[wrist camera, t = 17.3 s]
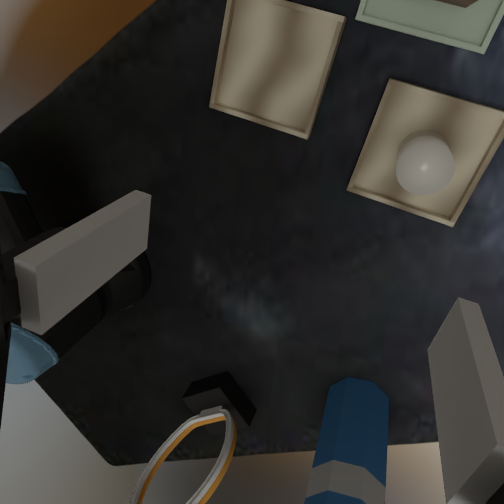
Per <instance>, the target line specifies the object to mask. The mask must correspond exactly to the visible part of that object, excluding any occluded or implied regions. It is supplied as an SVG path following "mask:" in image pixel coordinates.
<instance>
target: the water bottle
mask: <svg viewBox="0 0 504 504" xmlns="http://www.w3.org/2000/svg"><path fill="white" fill-rule="evenodd" d="M388 418H389V397H388V396H387V395H386V394H385V393H384V392H383V391H382V390H381V389H380V388H379V387H378V386H377V385H376V384H375V383H374V382H373V381H367V380H362V379H356V378H350V377H346V378H344V379H343V380H341V381H339V382H337V383H335V384H333V385H332V386H330V388H329V393H328V397H327V402H326V406H325V411H324V416H323V420H322V425H321V429H320V434H319V439H318V443H317V448H316V452H315V457H314V462H313V466H312V471H311V476H310V480H309V485H308V489H307V494H306V498H305V503H304V504H385V487H386V464H387V441H388Z"/></svg>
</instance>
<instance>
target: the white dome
mask: <svg viewBox="0 0 504 504" xmlns="http://www.w3.org/2000/svg"><path fill="white" fill-rule="evenodd" d="M454 171H455V161H454V158H453V156H452V153H451V151H450V149H449V146H448V144H447V142H446V140H445V139H444V137H443V136H441V135H440V134H439V133H437V132H434V131H431V130H420V131H416V132H414V133H412V134H410V135H409V136H407V137H406V138H405V139H404V140H403V141H402V143H401V144H400V146H399V149H398V152H397V164H396V176H397V179H398V182H399V184H400V185H401V186H402V187H403V188H404V189H405V190H406V191H408V192H409V193H412V194H415V195H422V196H424V195H431V194H434V193H437V192H439V191H440V190H442V189H443V188H445V187H446V186H447V185H448V184H449V182H450V181H451V179H452V177H453V175H454Z"/></svg>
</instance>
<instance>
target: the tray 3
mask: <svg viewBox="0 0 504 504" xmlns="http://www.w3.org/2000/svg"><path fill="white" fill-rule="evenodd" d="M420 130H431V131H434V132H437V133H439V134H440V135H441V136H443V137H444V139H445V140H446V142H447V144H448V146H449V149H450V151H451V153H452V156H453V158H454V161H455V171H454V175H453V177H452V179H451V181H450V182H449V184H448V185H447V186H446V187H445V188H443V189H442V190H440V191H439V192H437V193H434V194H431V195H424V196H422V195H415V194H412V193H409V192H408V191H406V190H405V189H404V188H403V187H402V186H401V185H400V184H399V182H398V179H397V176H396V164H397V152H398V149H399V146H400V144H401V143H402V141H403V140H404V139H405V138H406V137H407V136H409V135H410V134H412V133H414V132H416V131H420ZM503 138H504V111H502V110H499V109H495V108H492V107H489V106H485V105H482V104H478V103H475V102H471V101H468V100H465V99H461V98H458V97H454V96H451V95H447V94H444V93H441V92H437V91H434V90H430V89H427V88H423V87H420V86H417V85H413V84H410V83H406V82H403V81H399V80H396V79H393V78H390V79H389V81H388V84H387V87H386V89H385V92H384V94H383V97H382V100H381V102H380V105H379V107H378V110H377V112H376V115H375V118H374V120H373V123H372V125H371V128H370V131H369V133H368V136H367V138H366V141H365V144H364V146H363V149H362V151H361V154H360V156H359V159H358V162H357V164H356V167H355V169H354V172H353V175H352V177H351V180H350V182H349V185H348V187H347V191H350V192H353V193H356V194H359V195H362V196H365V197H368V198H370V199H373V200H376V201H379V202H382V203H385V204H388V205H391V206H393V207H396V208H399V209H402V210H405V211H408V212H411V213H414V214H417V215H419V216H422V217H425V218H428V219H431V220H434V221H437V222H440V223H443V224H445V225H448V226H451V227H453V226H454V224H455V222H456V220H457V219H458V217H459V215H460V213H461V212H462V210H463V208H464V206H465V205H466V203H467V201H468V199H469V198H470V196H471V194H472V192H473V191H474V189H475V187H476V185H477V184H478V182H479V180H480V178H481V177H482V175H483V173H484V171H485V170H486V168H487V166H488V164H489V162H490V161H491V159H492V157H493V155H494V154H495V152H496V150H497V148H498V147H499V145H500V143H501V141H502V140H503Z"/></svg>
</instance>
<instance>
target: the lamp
mask: <svg viewBox="0 0 504 504" xmlns="http://www.w3.org/2000/svg"><path fill="white" fill-rule="evenodd" d="M182 399H183V401H184V402H185V403H186V405H187V406H188V407H189V408H190V410H191V411H192V412H193V413H194V415H195V416H194V417H192V418H190V419H188V420H187V421H186V422H185V423H183V424H182V425H181V426H180V427H179V428H178V429H177V430H176V431H175V432H174V433H173V434H172V435H171V436H170V437H169V438H168V439H167V440H166V441H165V442H164V443H163V445H162V446H161V447H160V448H159V449H158V451H157V452H156V453H155V454H154V456H153V457H152V459H151V460H150V461H149V463H148V464H147V466H146V467H145V469H144V471H143V472H142V474H141V476H140V478H139V480H138V482H137V484H136V486H135V488H134V491H133V493H132V496H131V498H130V501H129V504H142V500H143V497H144V495H145V492H146V490H147V487H148V485H149V483H150V481H151V479H152V478H153V476H154V474H155V473H156V471H157V470H158V468H159V467H160V465H161V464H162V462H163V461H164V460H165V458H166V457H167V456H168V455H169V453H170V452H171V451H172V450H173V449H174V448H175V446H176V445H177V444H178V443H179V442H180V441H181V440H182V439H183V438H184V437H185V436H186V435H187V434H188V433H189V432H190V431H192V430H193V429H194V428H196V427H198V426H201V425H203V426H204V427H205V429H206V430H207V431H208V432H209V434H210V435H215V434H220V433H224V432H226V436H225V441H224V444H223V447H222V450H221V453H220V455H219V457H218V460H217V462H216V464H215V465H214V467H213V469H212V471H211V472H210V474H209V475H208V477H207V478H206V480H205V481H204V483H203V484H202V485H201V487H200V488H199V489H198V490H197V491H196V493H195V494H194V495H193V496H192V497H191V498H190V500H189V501H188V502H187V503H186V504H205V503H206V502H207V500H208V499H209V498H210V496H211V495H212V494H213V492H214V491H215V489H216V488H217V486H218V485H219V483H220V481H221V480H222V478H223V476H224V474H225V473H226V471H227V469H228V466H229V464H230V461H231V459H232V456H233V453H234V449H235V444H236V430H239V429H243V428H248V427H250V424H251V422H252V420H253V417H254V415H255V412H256V408H255V407H254V406H253V404H252V403H251V402H250V400H249V399H248V398H247V396H246V395H245V394H244V392H243V391H242V389H241V388H240V387H239V385H238V384H237V383H236V381H235V380H234V379H233V377H232V376H231V375H230V373H229V372H225V373H221V374H218V375H215V376H212V377H209V378H206V379H202V380H199V381H196V382H193V383H191V385H190V386H189V388H188V389H187V391H186V393H185V394H184V396H183V397H182Z"/></svg>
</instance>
